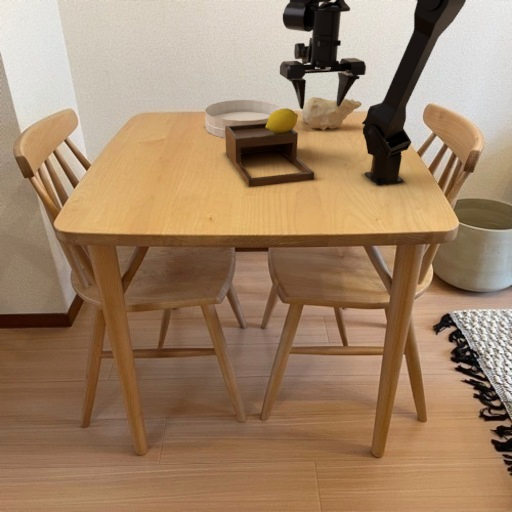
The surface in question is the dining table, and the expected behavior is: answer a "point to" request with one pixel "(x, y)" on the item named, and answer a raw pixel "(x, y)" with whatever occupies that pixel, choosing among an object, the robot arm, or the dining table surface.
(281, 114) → the lemon
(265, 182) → the step shelf
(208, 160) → the dining table surface
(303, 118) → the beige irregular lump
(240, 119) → the dish
